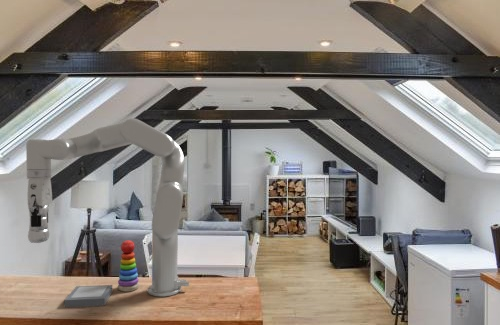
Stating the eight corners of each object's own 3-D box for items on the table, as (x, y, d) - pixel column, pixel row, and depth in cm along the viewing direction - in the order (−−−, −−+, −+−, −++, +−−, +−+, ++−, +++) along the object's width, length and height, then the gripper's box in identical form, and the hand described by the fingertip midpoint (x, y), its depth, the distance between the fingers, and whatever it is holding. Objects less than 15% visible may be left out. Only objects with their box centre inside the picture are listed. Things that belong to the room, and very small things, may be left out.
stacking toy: (141, 284, 149) (141, 238, 149) (135, 292, 141) (136, 243, 141) (121, 284, 149) (121, 238, 148) (114, 292, 141) (115, 243, 141)
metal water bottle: (25, 242, 133) (23, 186, 132) (46, 238, 138) (44, 185, 137) (31, 246, 129) (29, 188, 127) (52, 242, 133) (51, 186, 132)
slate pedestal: (112, 291, 142) (112, 284, 142) (104, 305, 129) (104, 297, 129) (76, 292, 140) (76, 285, 140) (64, 307, 127) (64, 299, 127)
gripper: (40, 175, 124) (41, 229, 125) (58, 172, 141) (59, 220, 142) (16, 176, 123) (17, 230, 124) (37, 172, 140) (38, 220, 141)
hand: (39, 224), depth 133 cm, fingers closed on metal water bottle, 5 cm apart
